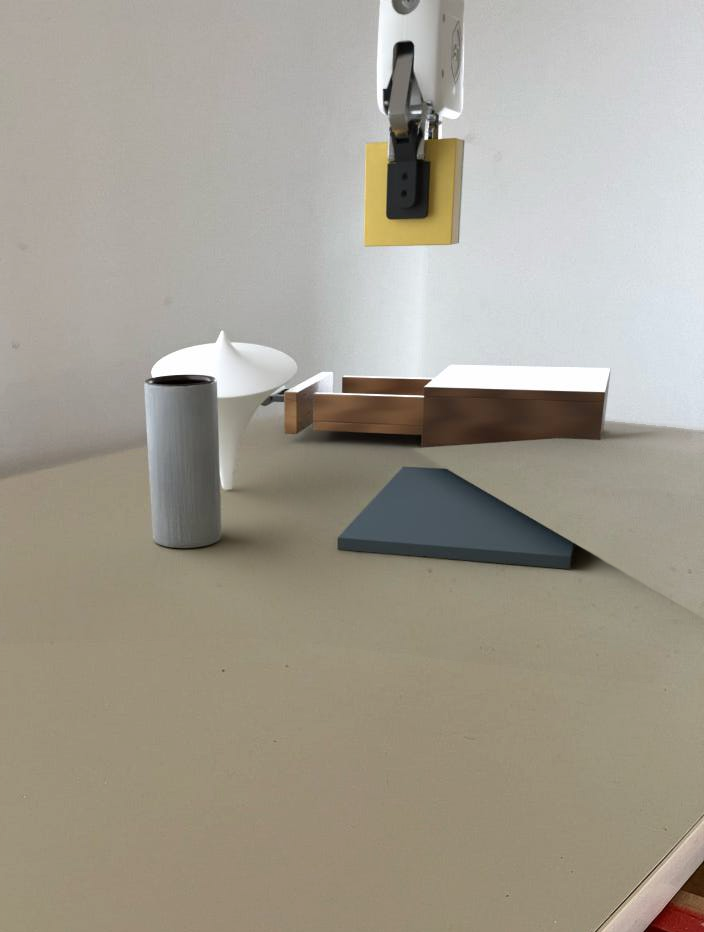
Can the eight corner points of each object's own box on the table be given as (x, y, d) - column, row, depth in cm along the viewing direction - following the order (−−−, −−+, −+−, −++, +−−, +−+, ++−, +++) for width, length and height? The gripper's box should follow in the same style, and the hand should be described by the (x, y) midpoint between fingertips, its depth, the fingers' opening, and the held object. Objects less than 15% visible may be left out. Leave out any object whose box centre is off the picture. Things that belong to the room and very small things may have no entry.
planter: (221, 548, 66) (216, 384, 62) (150, 550, 66) (140, 386, 62) (222, 528, 70) (217, 373, 66) (155, 529, 70) (147, 375, 66)
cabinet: (420, 452, 90) (423, 386, 88) (447, 422, 101) (450, 364, 99) (597, 460, 85) (605, 392, 83) (603, 429, 96) (610, 368, 94)
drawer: (244, 431, 96) (243, 390, 94) (285, 408, 106) (284, 370, 105) (431, 440, 90) (433, 396, 88) (454, 415, 100) (457, 375, 99)
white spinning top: (300, 505, 74) (300, 334, 70) (152, 508, 75) (142, 338, 70) (294, 472, 84) (294, 319, 79) (163, 475, 84) (155, 323, 80)
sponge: (363, 246, 82) (365, 143, 79) (374, 244, 85) (376, 145, 82) (451, 244, 80) (456, 137, 77) (459, 243, 83) (464, 140, 80)
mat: (402, 476, 82) (403, 466, 82) (587, 486, 77) (588, 476, 77) (337, 549, 65) (337, 537, 64) (569, 569, 60) (571, 556, 60)
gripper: (454, -88, 66) (439, 219, 73) (492, -38, 80) (477, 215, 88) (341, -73, 69) (338, 222, 76) (398, -27, 83) (390, 218, 90)
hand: (412, 215), depth 82 cm, fingers closed on sponge, 3 cm apart
